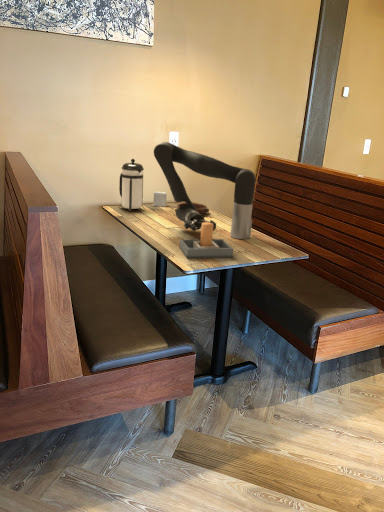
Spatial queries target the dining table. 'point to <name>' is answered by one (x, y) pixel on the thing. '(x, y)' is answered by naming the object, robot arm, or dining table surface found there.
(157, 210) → the dining table surface
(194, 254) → the walled box
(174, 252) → the dining table surface
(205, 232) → the rounded orange object
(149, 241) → the dining table surface
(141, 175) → the coffee press
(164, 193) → the medicine box
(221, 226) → the dining table surface
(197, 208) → the dish
